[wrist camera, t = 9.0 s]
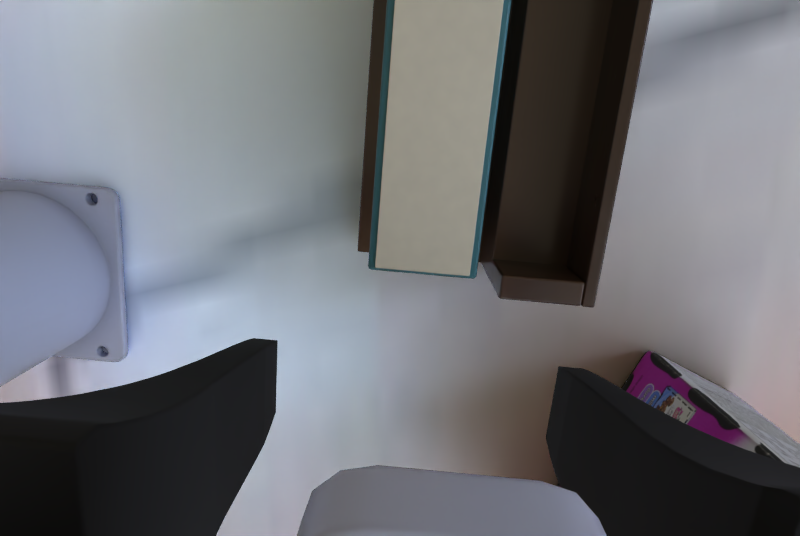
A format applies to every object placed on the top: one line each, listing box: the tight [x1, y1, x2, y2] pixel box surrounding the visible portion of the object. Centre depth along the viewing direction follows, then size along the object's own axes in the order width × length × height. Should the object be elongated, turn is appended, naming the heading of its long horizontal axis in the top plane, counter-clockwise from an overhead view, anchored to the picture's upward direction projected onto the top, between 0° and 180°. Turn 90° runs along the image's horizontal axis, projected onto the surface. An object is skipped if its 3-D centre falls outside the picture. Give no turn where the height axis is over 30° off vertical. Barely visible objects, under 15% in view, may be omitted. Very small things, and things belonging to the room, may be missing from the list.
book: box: [368, 0, 511, 279], centre depth 16 cm, size 3×11×7 cm, turn 175°
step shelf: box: [358, 0, 653, 307], centre depth 17 cm, size 8×13×6 cm, turn 175°
